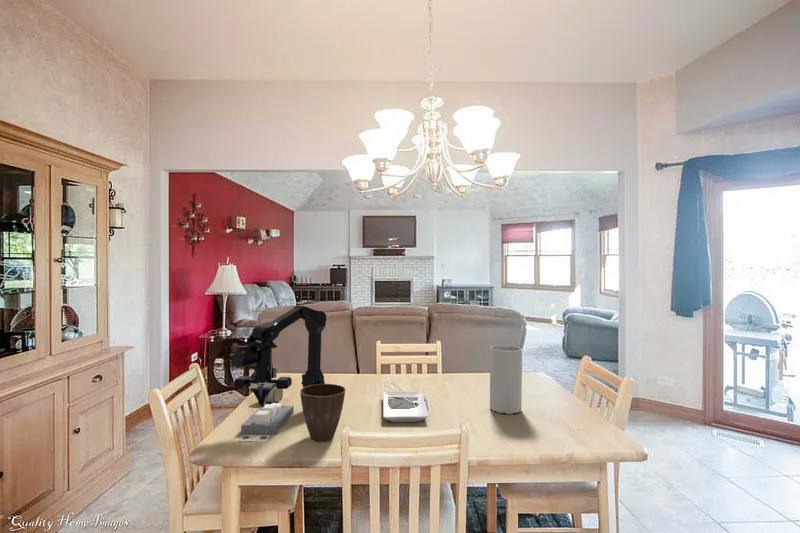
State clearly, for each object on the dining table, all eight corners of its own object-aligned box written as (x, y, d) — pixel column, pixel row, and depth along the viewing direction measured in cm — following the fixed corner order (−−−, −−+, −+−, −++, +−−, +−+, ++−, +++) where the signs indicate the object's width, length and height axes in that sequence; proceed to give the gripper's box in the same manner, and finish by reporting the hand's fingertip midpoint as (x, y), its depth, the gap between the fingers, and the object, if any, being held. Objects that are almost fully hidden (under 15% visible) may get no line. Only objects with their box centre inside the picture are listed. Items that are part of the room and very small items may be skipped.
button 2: (282, 413, 162) (282, 403, 162) (278, 417, 158) (279, 406, 158) (271, 413, 162) (272, 403, 162) (268, 417, 158) (268, 406, 158)
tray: (382, 425, 153) (382, 416, 153) (382, 398, 184) (383, 390, 184) (429, 425, 153) (429, 415, 153) (421, 398, 185) (421, 390, 185)
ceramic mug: (274, 405, 173) (274, 386, 173) (256, 403, 175) (257, 384, 175) (287, 398, 183) (288, 380, 183) (271, 396, 185) (271, 378, 185)
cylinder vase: (526, 409, 171) (527, 348, 171) (511, 417, 162) (512, 352, 162) (499, 402, 180) (500, 344, 180) (483, 409, 170) (484, 348, 171)
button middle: (276, 415, 155) (276, 404, 155) (272, 419, 151) (272, 408, 151) (265, 415, 155) (265, 404, 155) (261, 418, 151) (261, 407, 151)
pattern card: (270, 436, 141) (270, 434, 141) (265, 441, 136) (265, 440, 136) (244, 435, 141) (244, 434, 141) (238, 441, 137) (238, 439, 137)
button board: (293, 413, 163) (293, 405, 163) (276, 435, 142) (276, 426, 142) (262, 412, 163) (263, 405, 163) (241, 434, 142) (241, 425, 142)
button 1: (269, 422, 148) (270, 410, 148) (266, 426, 144) (266, 414, 144) (258, 422, 148) (258, 410, 148) (254, 426, 144) (254, 414, 144)
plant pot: (307, 427, 149) (308, 382, 149) (349, 430, 147) (349, 384, 147) (292, 445, 134) (293, 395, 134) (338, 448, 132) (339, 397, 133)
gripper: (296, 357, 154) (295, 400, 154) (245, 356, 154) (245, 399, 154) (287, 364, 143) (286, 410, 143) (232, 363, 143) (232, 409, 143)
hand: (262, 407), depth 146 cm, fingers closed
